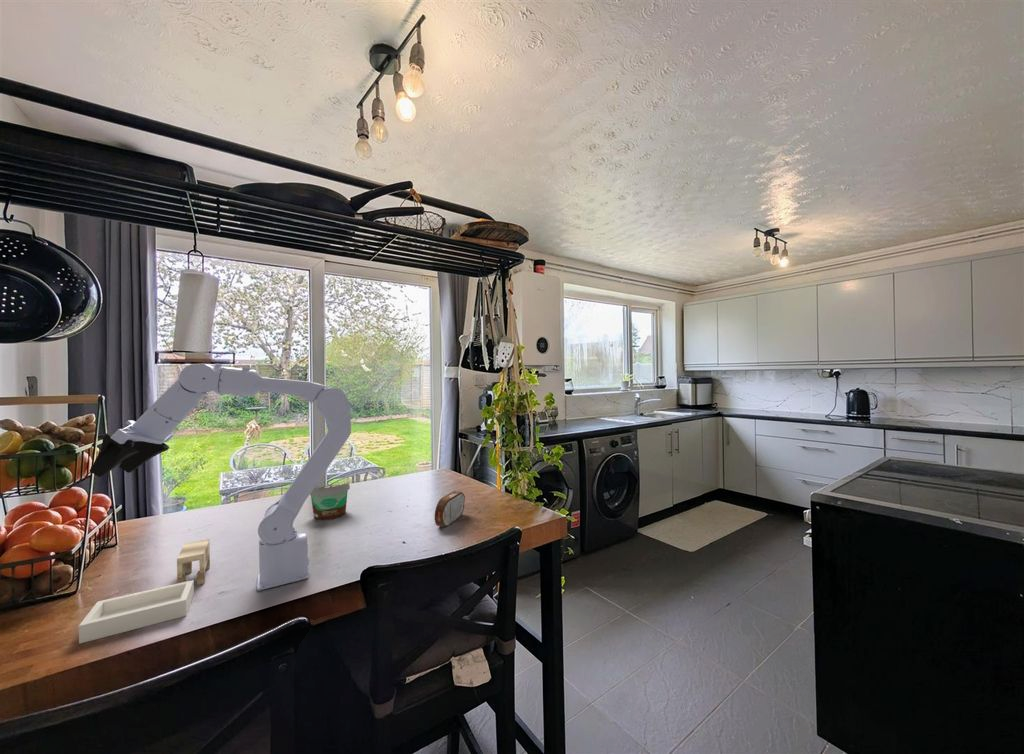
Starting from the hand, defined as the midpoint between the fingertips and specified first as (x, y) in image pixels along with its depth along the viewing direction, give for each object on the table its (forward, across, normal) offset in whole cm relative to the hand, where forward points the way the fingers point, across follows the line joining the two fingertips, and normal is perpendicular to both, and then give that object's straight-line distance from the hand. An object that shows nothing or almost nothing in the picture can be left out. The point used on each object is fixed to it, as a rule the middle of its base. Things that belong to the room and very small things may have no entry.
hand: (110, 471), depth 75 cm
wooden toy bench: (+15, -14, +22) cm, 30 cm away
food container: (-3, -46, +38) cm, 59 cm away
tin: (-23, -30, +67) cm, 77 cm away
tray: (+17, 0, +22) cm, 28 cm away
